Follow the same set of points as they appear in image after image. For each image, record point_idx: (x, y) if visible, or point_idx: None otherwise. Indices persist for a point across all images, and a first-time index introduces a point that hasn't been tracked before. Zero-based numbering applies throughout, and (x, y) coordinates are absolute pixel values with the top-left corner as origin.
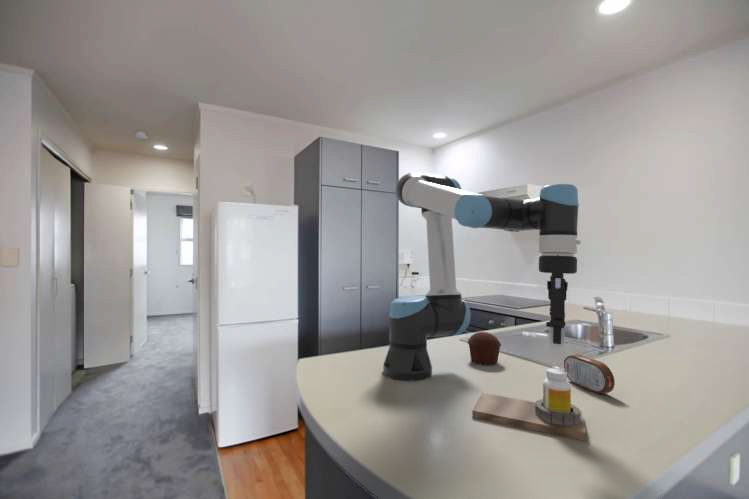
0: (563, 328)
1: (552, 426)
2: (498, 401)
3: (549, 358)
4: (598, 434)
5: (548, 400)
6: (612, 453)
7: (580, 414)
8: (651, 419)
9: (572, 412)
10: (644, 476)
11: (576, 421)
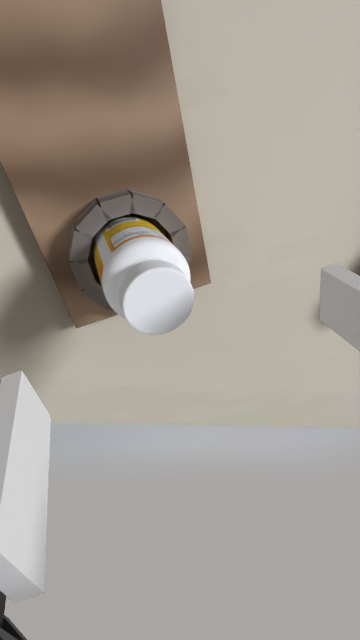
0: (10, 599)
1: (46, 262)
2: (103, 41)
3: (2, 379)
4: None
5: (99, 253)
6: (61, 364)
7: None
8: (278, 367)
9: None
10: None
11: None
